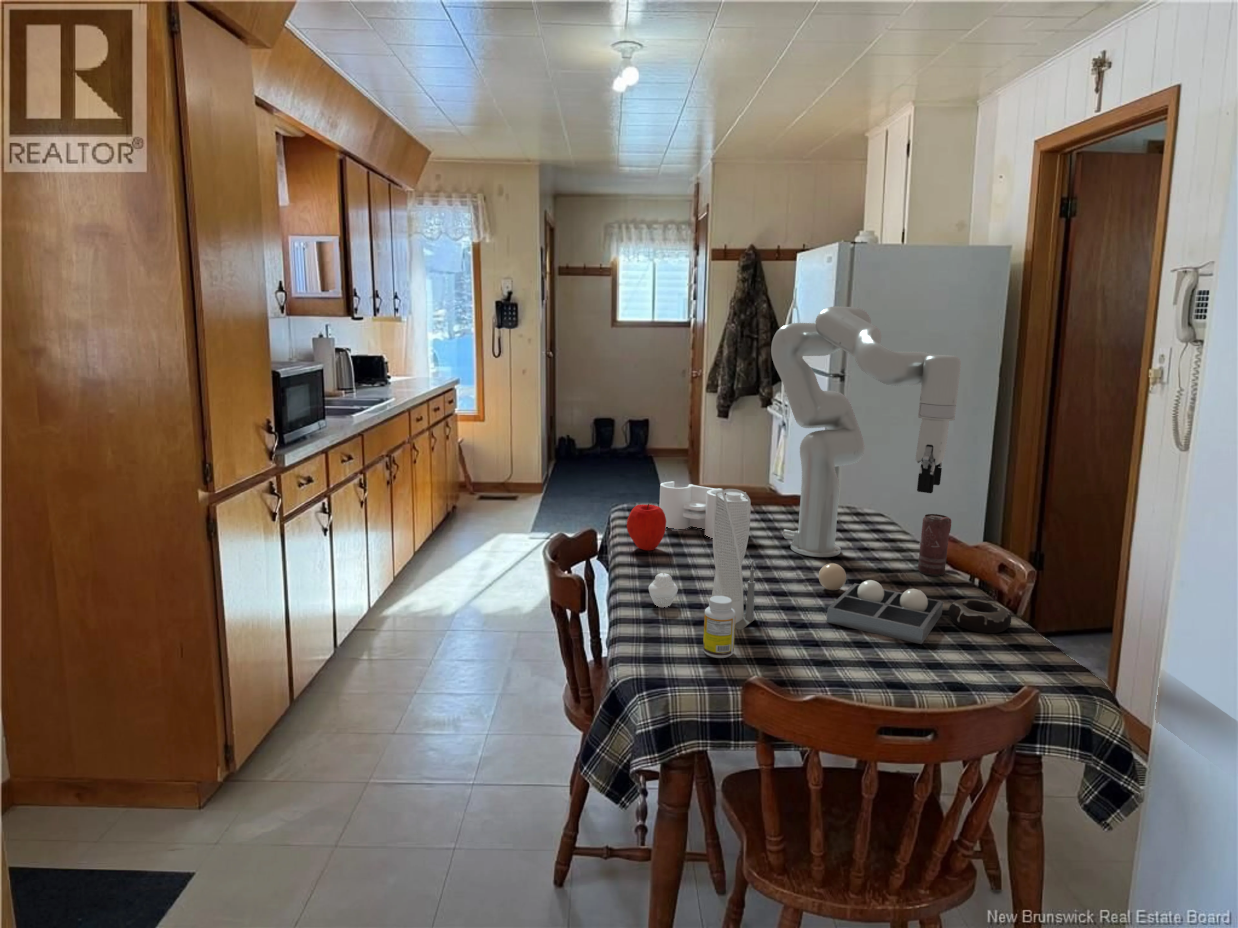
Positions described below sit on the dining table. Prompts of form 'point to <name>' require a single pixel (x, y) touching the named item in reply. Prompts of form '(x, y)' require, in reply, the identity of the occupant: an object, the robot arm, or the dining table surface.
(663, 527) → the apple
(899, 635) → the grey shallow tray
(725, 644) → the supplement bottle
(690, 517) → the bracket
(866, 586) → the egg left
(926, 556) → the can
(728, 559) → the skyscraper
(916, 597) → the white ball
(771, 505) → the dining table surface
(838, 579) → the brown egg
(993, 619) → the donut
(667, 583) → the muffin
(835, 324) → the robot arm
